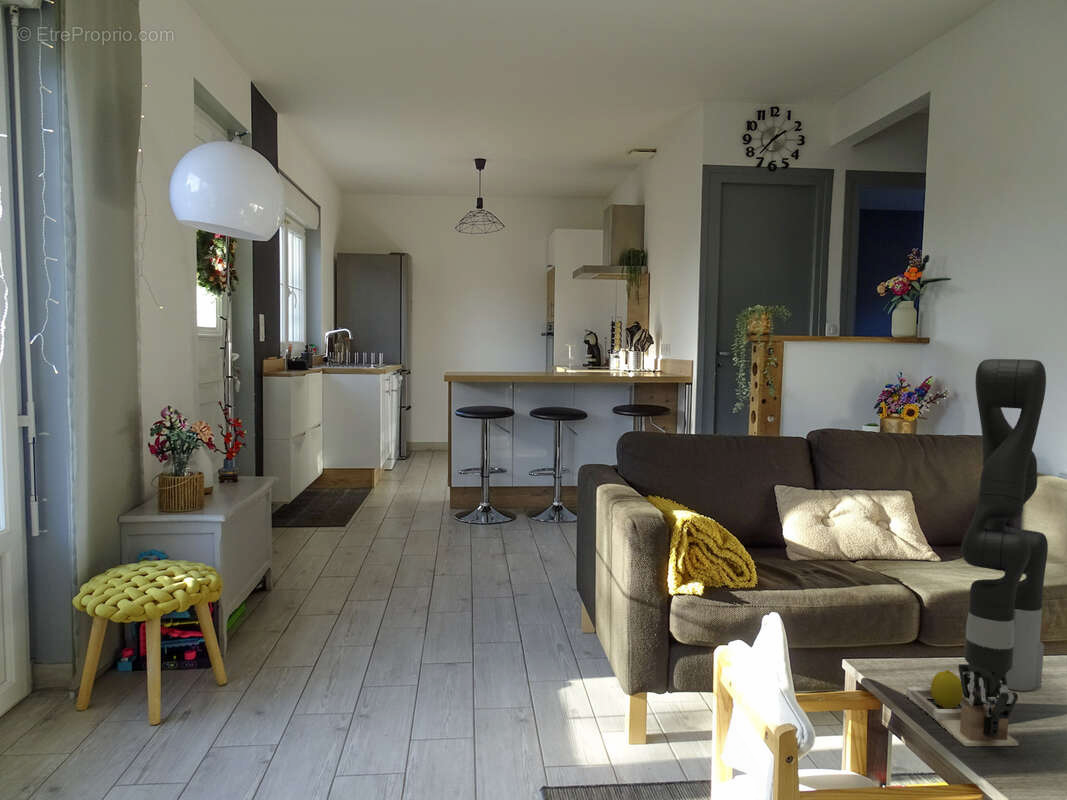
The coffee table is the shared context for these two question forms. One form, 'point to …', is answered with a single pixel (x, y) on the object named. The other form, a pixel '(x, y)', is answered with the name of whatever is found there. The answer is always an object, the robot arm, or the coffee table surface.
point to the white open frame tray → (962, 720)
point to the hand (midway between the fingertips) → (983, 730)
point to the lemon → (946, 689)
